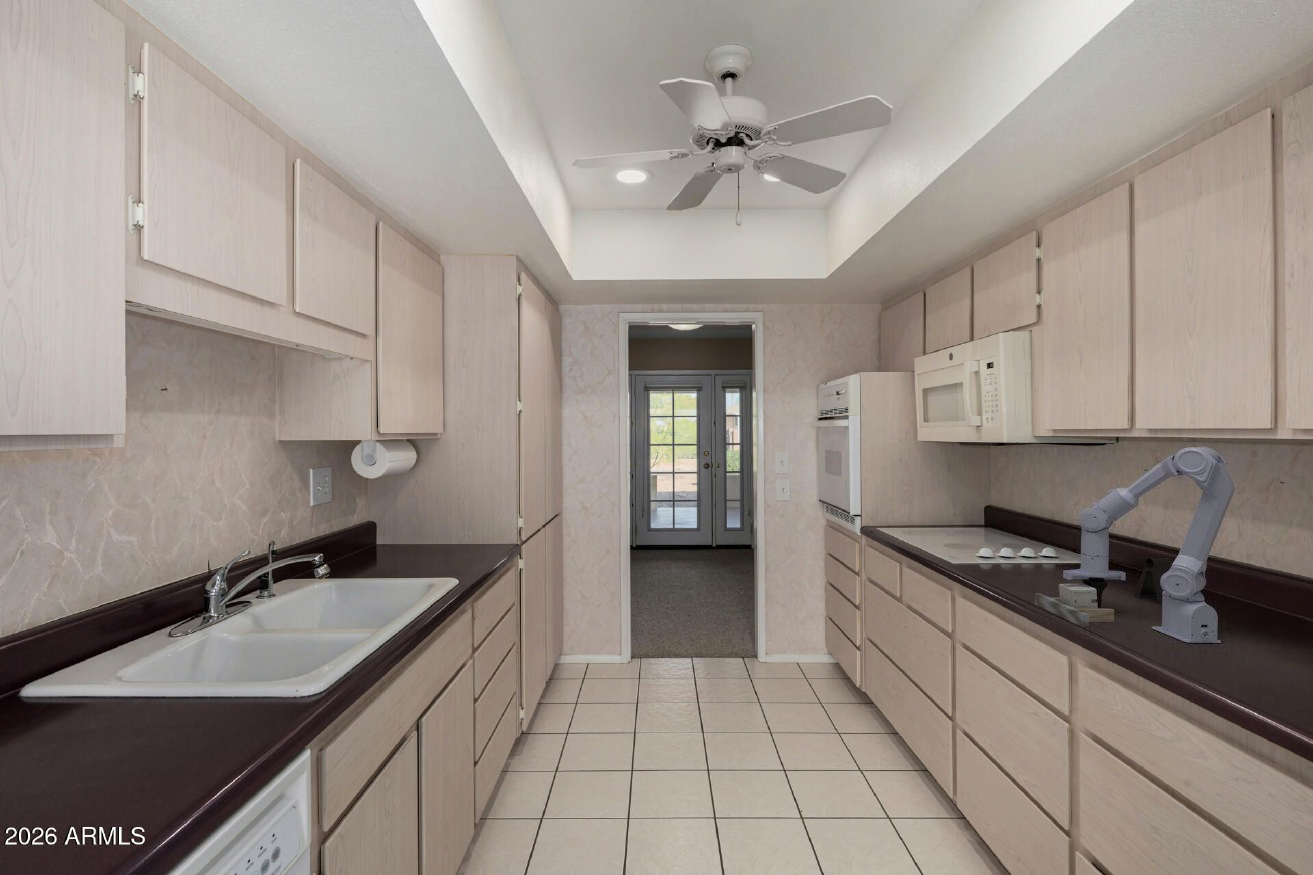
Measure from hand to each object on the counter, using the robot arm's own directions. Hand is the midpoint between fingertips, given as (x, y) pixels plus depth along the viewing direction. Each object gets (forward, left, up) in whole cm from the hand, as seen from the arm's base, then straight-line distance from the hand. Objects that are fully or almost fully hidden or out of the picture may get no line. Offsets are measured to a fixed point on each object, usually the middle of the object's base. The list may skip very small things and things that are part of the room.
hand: (1093, 606), depth 150 cm
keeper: (0, +4, -2) cm, 4 cm away
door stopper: (+14, -28, -2) cm, 32 cm away
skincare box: (0, +4, -2) cm, 4 cm away
